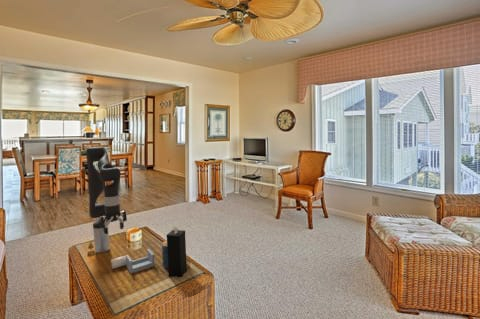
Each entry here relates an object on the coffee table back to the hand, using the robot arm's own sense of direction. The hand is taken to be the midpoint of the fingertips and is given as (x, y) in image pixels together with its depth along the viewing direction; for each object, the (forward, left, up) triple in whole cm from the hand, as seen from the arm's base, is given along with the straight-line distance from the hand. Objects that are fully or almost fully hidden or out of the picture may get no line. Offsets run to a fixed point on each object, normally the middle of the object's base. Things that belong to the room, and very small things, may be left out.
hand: (114, 231), depth 147 cm
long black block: (+20, +29, -27) cm, 44 cm away
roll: (-10, +4, -27) cm, 29 cm away
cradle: (-2, +14, -27) cm, 30 cm away
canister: (+8, +31, -27) cm, 42 cm away
